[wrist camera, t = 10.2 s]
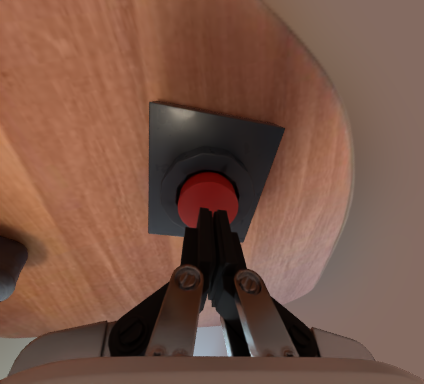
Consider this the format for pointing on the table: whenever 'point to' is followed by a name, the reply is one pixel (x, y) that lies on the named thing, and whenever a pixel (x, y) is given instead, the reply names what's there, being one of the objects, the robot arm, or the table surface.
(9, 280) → the glasses case
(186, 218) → the button
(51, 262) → the table surface
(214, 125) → the switch block
